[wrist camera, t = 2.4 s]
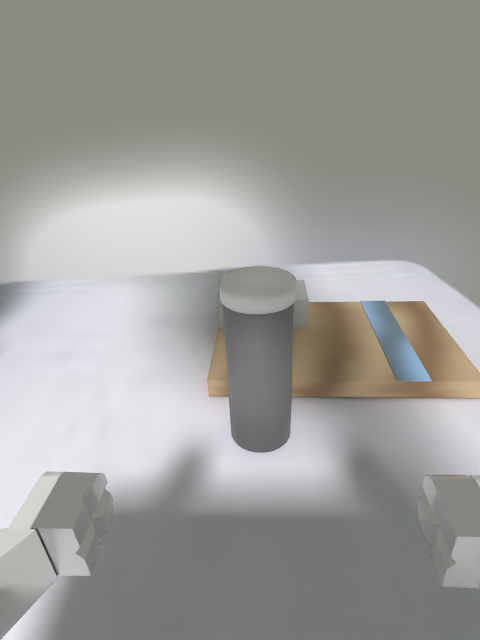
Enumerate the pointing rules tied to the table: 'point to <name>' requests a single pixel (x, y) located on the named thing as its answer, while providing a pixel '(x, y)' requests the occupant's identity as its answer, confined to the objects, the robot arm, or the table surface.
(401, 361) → the board
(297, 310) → the block
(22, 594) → the robot arm
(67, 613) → the table surface
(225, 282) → the peg
